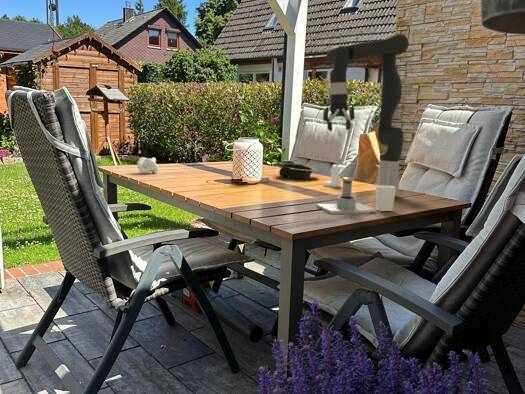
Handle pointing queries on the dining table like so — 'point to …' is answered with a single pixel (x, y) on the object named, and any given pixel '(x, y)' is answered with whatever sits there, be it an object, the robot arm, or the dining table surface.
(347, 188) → the hinge pin
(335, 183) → the sitting furry creature
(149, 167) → the white animal figurine
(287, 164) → the stone bowl
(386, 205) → the white cup
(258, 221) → the dining table surface
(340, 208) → the hinge leaves
